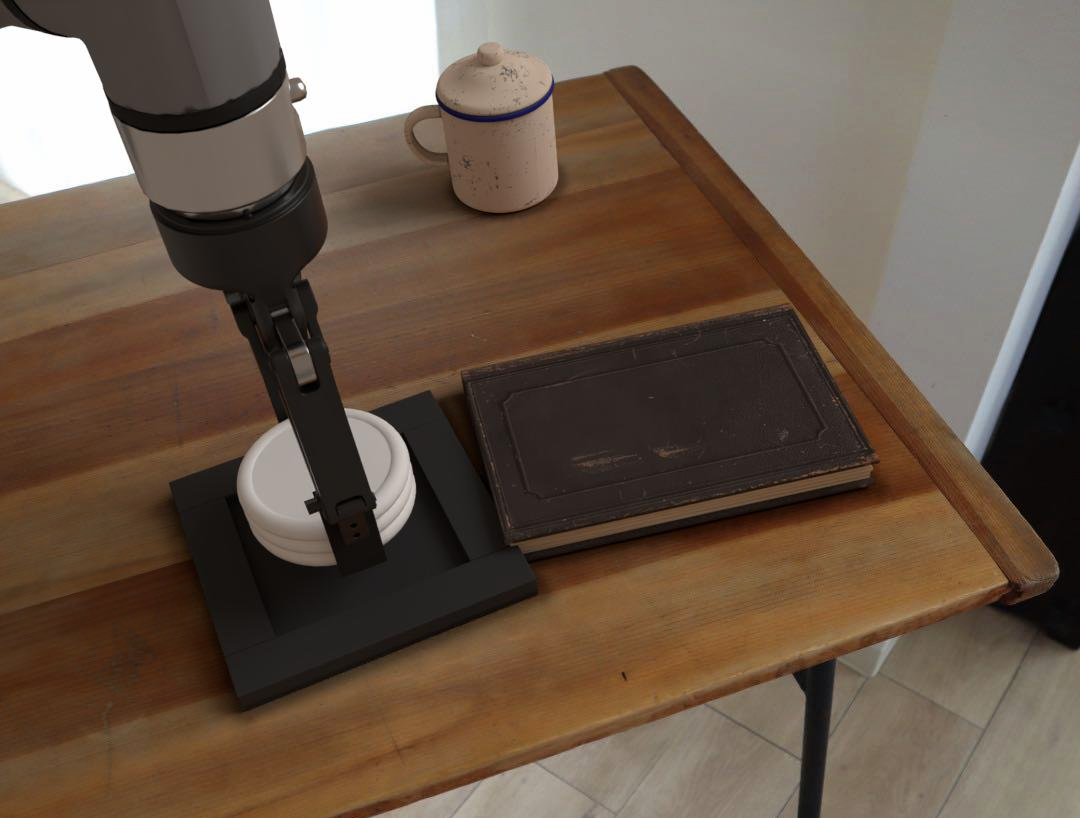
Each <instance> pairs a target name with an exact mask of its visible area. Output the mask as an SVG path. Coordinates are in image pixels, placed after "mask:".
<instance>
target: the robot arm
mask: <svg viewBox="0 0 1080 818" xmlns="http://www.w3.org/2000/svg"><path fill="white" fill-rule="evenodd" d="M8 27H16V28H20V29H25V30H30V31H35V32H39V33H42V34H46V35H50V36H55V37H61V38H66V39H78V40H80V41H81V42H82V43H83V44H84V45H85V47H86V50H87V52H88V55H89V57H90V59H91V61H92V64H93V66H94V69H95V71H96V73H97V76H98V78H99V81H100V83H101V84H102V90H103V93H104V96H105V98H106V100H107V103H108V107H109V111H110V114H111V117H112V119H113V122H114V124H115V126H116V129H117V132H118V134H119V137H120V139H121V142H122V144H123V147H124V149H125V152H126V154H127V157H128V160H129V162H130V165H131V167H132V170H133V172H134V174H135V177H136V180H137V182H138V185H139V187H140V189H141V191H142V193H143V195H144V196H146V197H147V199H149V200H148V202H149V203H148V204H149V209H150V211H151V214H152V217H153V220H154V222H155V224H156V226H157V230H158V232H159V235H160V238H161V239H162V240H161V241H162V242H163V244H164V247H165V250H166V252H167V254H168V258H169V260H170V262H171V265H172V266H173V268H174V269H175V270H176V271H177V272H178V274H179V275H180V276H182V277H183V278H184V279H186V281H189V282H190V283H192V284H194V285H197V286H199V287H202V288H204V289H207V290H214V291H219V292H222V294H223V296H224V299H225V302H226V304H227V305H229V308H230V311H231V313H232V314H231V315H232V317H233V319H234V321H235V324H236V327H237V329H238V331H239V333H240V334H241V336H242V337H244V338H245V339H247V341H248V343H249V344H248V345H249V346H250V349H251V351H252V355H253V357H254V360H255V363H256V365H257V367H258V370H259V373H260V375H261V378H262V380H263V383H264V385H265V389H266V392H267V394H268V398H269V400H270V404H271V406H272V409H273V412H274V414H275V417H276V420H277V424H279V423H281V422H283V421H285V420H287V419H289V421H290V424H291V427H292V429H293V432H294V435H295V437H296V440H297V443H298V445H299V448H300V451H301V453H302V456H303V459H304V461H305V464H306V467H307V469H308V472H309V475H310V477H311V480H312V483H313V485H314V488H315V491H314V492H312V493H313V496H314V498H311V499H309V500H306V501H304V503H305V506H306V508H307V511H308V513H309V515H311V514H314V513H317V512H319V513H320V516H321V519H322V522H323V525H324V528H325V531H326V534H327V537H328V540H329V542H330V545H331V548H332V551H333V554H334V557H335V560H336V563H337V566H338V568H339V571H340V573H341V576H342V578H344V577H346V576H349V575H351V574H354V573H357V572H359V571H362V570H364V569H367V568H370V567H372V566H375V565H377V564H380V563H383V562H385V561H388V560H387V557H386V553H385V550H384V546H383V543H382V539H381V536H380V533H379V529H378V526H377V522H376V519H375V515H374V512H373V509H376V506H377V504H376V501H377V500H376V497H375V494H374V492H372V491H371V489H370V486H369V483H368V480H367V477H366V474H365V471H364V468H363V464H362V461H361V458H360V455H359V452H358V449H357V446H356V443H355V440H354V437H353V434H352V431H351V428H350V425H349V422H348V419H347V416H346V413H345V410H344V408H345V406H344V404H343V401H342V399H341V395H340V392H339V388H338V386H337V383H336V380H335V375H334V372H333V368H332V365H331V363H332V359H331V355H330V348H329V346H328V343H327V342H326V340H325V338H324V335H323V332H322V329H321V326H320V324H319V321H318V318H317V317H318V313H319V306H318V303H317V299H316V296H315V294H314V291H313V289H312V288H313V287H312V286H311V284H310V281H309V279H308V278H303V277H302V271H303V270H304V269H305V267H307V266H308V265H309V264H310V263H311V262H312V261H313V260H314V259H315V258H316V257H317V256H318V255H319V253H320V251H321V250H322V248H323V246H324V245H325V242H326V239H327V236H328V231H329V230H328V229H329V222H328V217H327V212H326V209H325V206H324V202H323V197H322V193H321V190H320V186H319V182H318V178H317V174H316V170H315V167H314V164H313V162H312V160H311V158H309V156H308V147H307V140H306V137H305V134H304V130H303V126H302V121H301V118H300V114H299V113H298V111H297V109H296V107H295V106H294V105H293V104H296V103H300V102H302V101H303V100H305V99H306V98H307V96H308V90H307V86H306V84H305V83H304V81H303V80H302V78H300V77H299V76H298V77H292V78H290V77H289V74H288V70H287V63H286V58H285V55H284V54H285V53H284V51H283V48H282V45H281V42H280V37H279V34H278V30H277V26H276V21H275V17H274V14H273V10H272V6H271V1H270V0H0V30H1V29H5V28H8Z"/></svg>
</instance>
